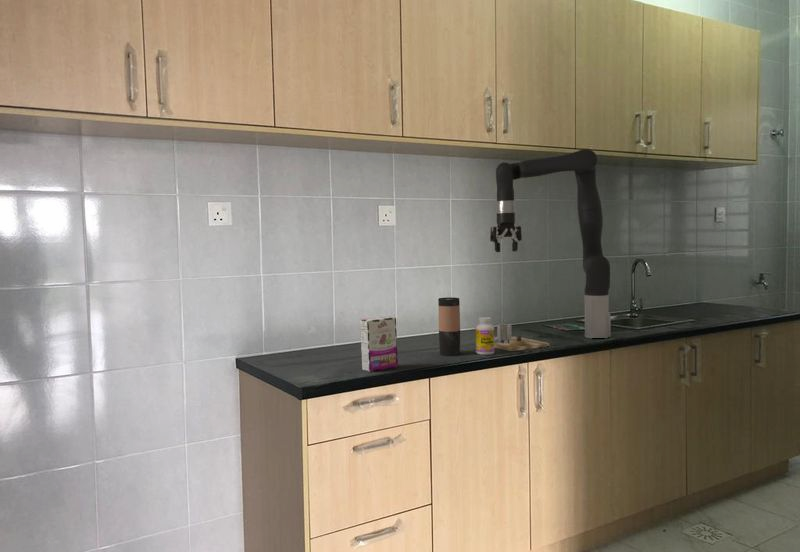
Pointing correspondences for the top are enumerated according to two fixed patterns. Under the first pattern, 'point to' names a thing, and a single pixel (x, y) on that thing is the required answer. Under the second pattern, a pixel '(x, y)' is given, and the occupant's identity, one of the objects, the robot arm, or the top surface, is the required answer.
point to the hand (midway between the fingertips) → (506, 251)
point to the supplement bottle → (484, 336)
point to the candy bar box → (379, 343)
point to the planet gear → (504, 334)
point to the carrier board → (514, 348)
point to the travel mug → (449, 326)
